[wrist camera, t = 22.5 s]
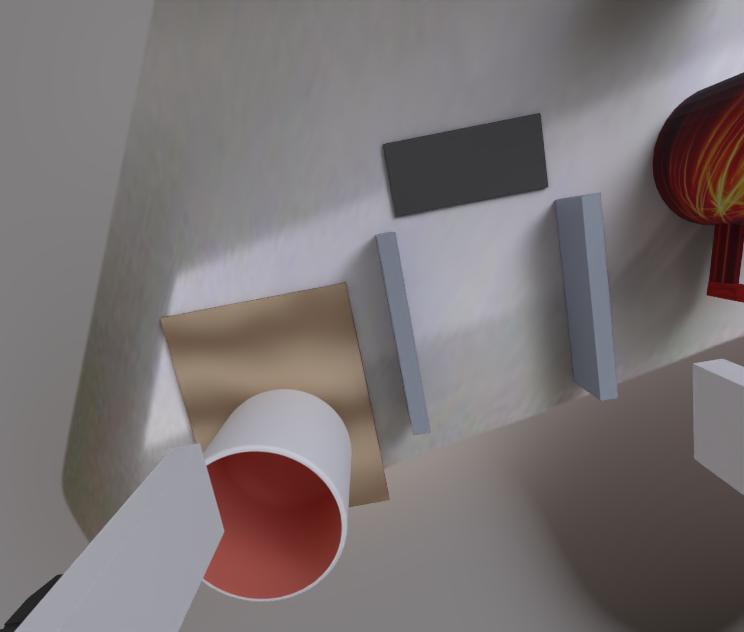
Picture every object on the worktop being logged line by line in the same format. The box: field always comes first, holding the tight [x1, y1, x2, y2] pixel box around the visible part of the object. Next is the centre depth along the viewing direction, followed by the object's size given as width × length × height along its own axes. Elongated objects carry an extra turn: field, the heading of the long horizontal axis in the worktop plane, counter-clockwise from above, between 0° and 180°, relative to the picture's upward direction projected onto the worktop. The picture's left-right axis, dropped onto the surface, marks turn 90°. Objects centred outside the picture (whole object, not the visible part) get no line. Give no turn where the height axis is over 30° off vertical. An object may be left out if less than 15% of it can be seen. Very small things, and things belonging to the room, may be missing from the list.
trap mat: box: [383, 113, 548, 217], centre depth 31 cm, size 5×11×1 cm, turn 101°
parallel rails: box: [375, 193, 618, 435], centre depth 32 cm, size 14×14×4 cm
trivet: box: [160, 282, 389, 507], centre depth 35 cm, size 18×14×1 cm
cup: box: [202, 389, 352, 602], centre depth 30 cm, size 10×10×10 cm
